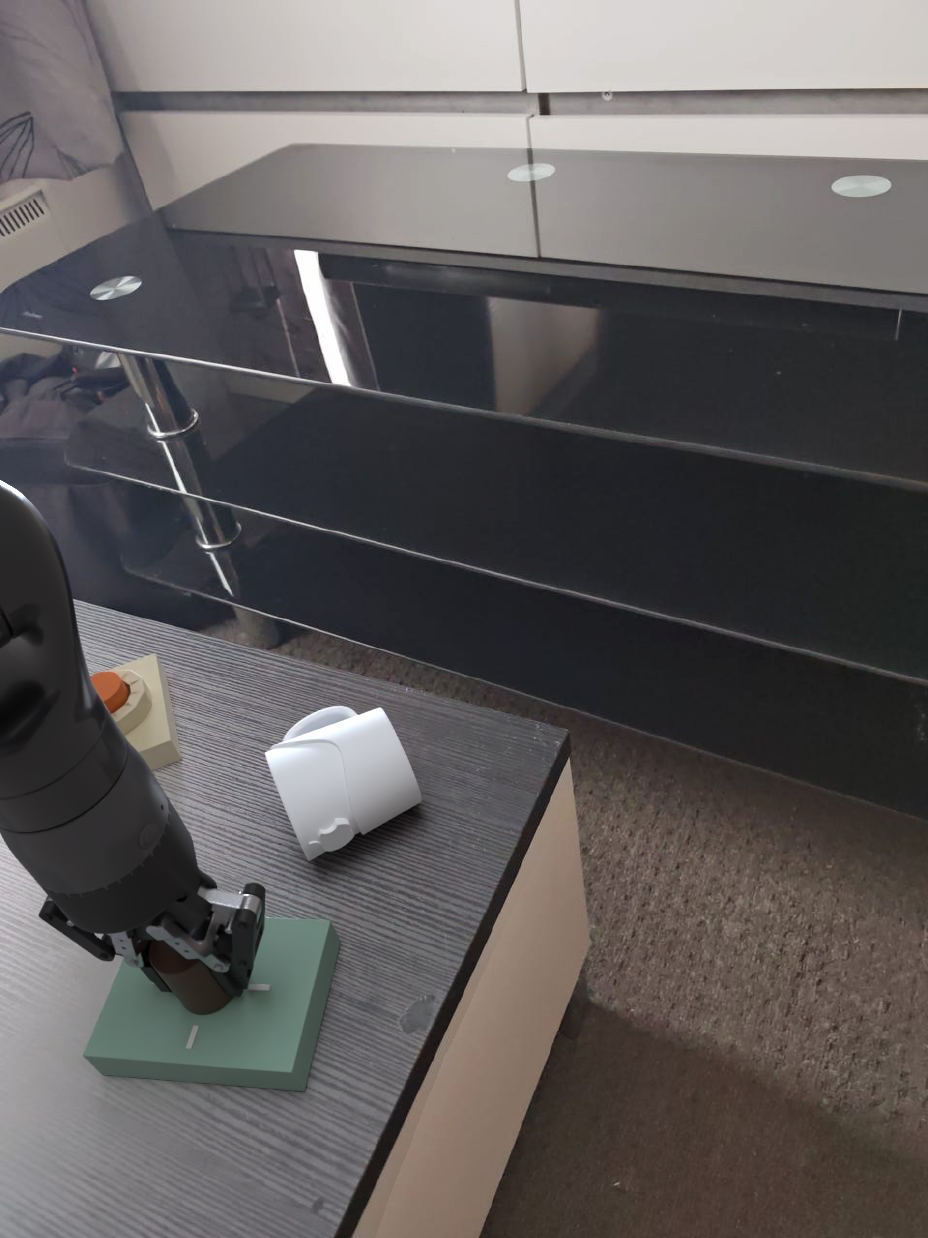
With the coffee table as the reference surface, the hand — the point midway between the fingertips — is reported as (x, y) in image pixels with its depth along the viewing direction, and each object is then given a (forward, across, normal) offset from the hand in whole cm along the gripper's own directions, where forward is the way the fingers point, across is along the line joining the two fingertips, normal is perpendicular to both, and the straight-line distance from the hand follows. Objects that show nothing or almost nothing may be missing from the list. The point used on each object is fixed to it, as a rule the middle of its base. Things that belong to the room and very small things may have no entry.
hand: (206, 979), depth 59 cm
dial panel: (+4, 0, 0) cm, 4 cm away
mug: (+4, -5, -17) cm, 18 cm away
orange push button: (0, +18, -24) cm, 30 cm away
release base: (+4, +18, -24) cm, 30 cm away
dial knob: (+1, 0, 0) cm, 1 cm away
